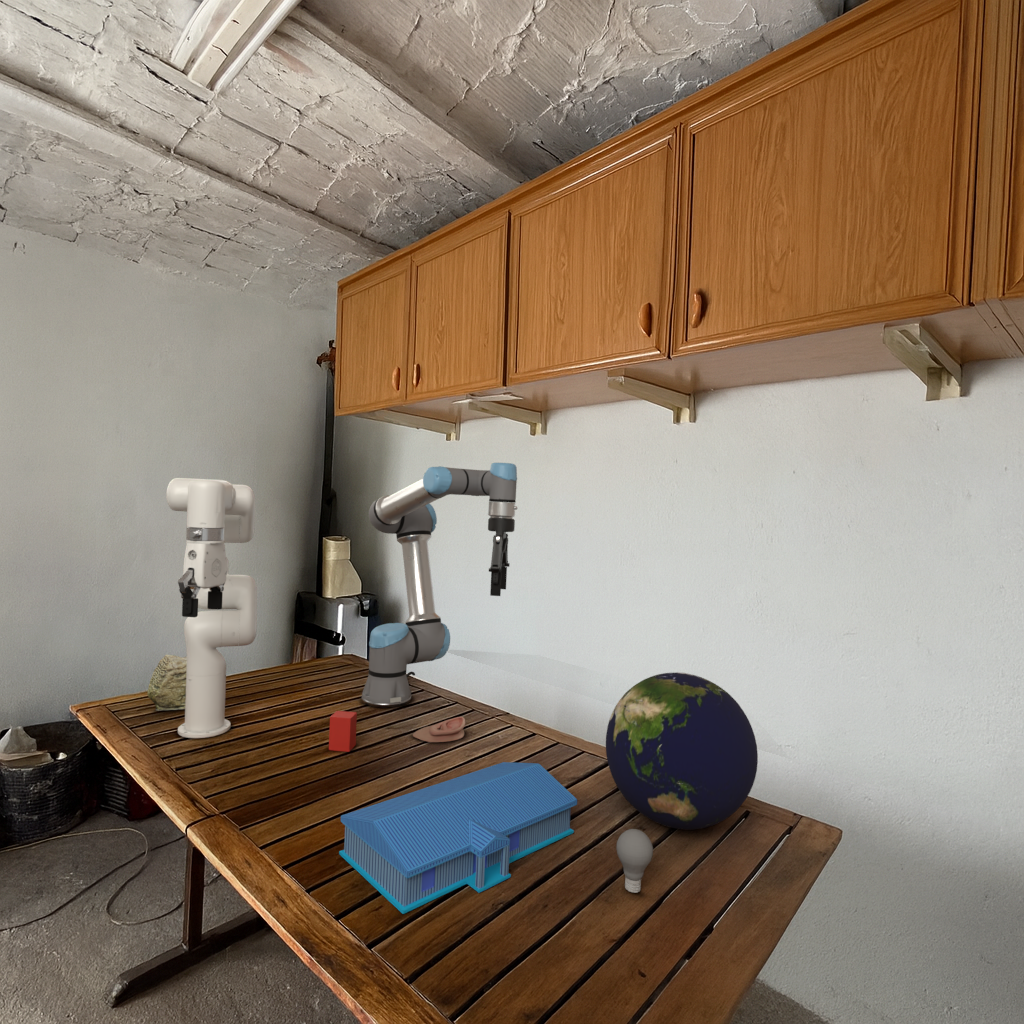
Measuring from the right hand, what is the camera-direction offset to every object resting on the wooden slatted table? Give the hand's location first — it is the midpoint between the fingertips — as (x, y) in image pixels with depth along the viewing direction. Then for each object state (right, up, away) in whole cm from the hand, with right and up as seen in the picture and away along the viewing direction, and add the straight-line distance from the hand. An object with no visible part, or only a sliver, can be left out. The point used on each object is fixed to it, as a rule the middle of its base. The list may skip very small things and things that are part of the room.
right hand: (498, 592), depth 180 cm
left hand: (-65, 0, -39) cm, 76 cm away
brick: (-39, -37, -20) cm, 57 cm away
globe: (+37, -41, -50) cm, 74 cm away
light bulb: (+24, -41, -74) cm, 88 cm away
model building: (-5, -39, -63) cm, 74 cm away
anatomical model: (-16, -38, -9) cm, 42 cm away
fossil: (-92, -34, +5) cm, 98 cm away
